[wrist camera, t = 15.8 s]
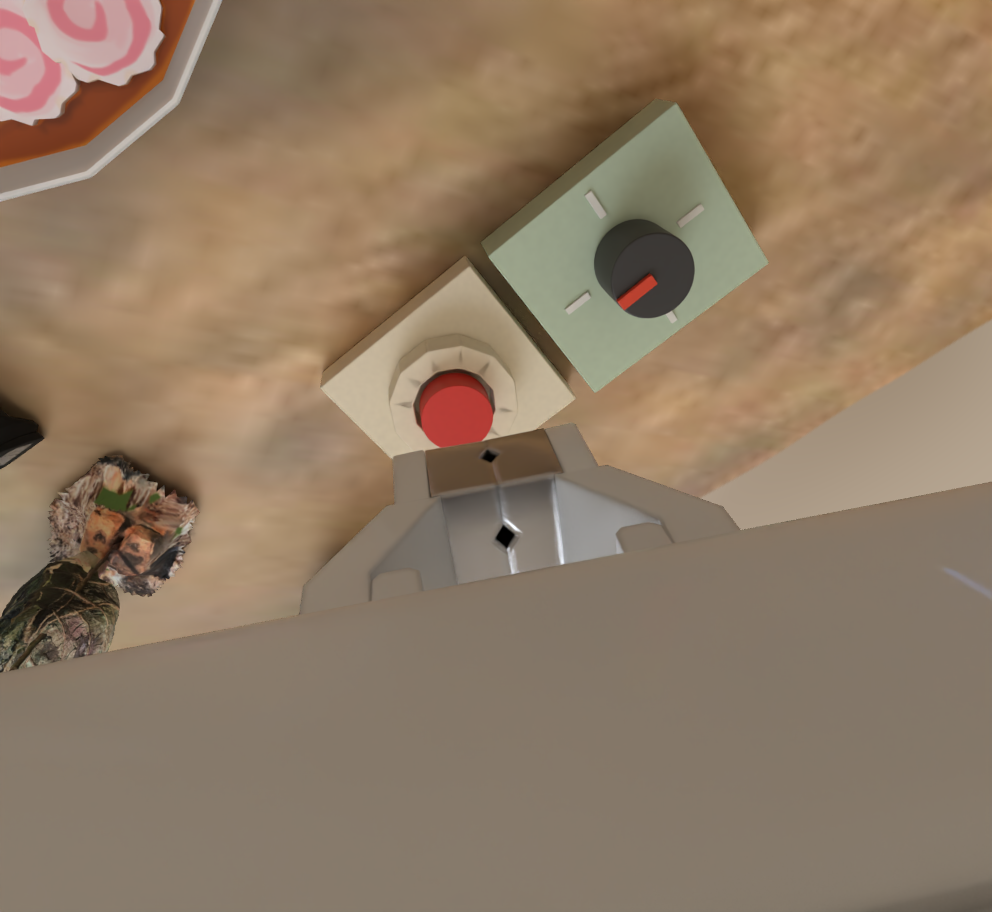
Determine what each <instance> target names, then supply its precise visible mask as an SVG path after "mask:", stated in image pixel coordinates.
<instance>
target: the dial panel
mask: <svg viewBox="0 0 992 912" xmlns="http://www.w3.org/2000/svg"><path fill="white" fill-rule="evenodd" d="M632 219H644V220H648V221H651V222H653V223H655V224H657V225H659V226H660V227H662V228H663V229H665V230H667V231H668V232H670V233H671V234H673V235H675V236H676V237H678V238H679V239H681V240H682V241H683V242H684V243H685V244H686V245H687V247H688V248H689V250H690V251H691V253H692V256H693V259H694V265H695V275H694V280H693V284H692V287H691V289H690V291H689V293H688V295H687V296H686V298H685V299H684V300H683V301H682V303H681V304H680V305H679V306H677V307H676V308H675V309H674V310H672V311H671V312H669V313H667V314H665V315H663V316H660V317H656V318H638V317H635V316H632V315H630V314H628V313H627V312H625V311H624V310H623V309H622V308H621V307H620V306H619V305H618V304H617V303H616V302H615V301H614V300H613V299H612V298H611V297H610V296H609V295H608V294H607V293H606V292H605V290H604V289H603V288H602V287H601V286H600V284H599V283H598V280H597V278H596V275H595V270H594V258H595V254H596V250H597V247H598V245H599V243H600V242H601V240H602V238H603V237H604V236H605V235H606V233H607V232H609V231H610V230H611V229H612V228H613V227H615V226H616V225H618V224H620V223H622V222H624V221H628V220H632ZM481 245H482V246H483V248H484V250H485V252H486V254H487V256H488V257H489V259H490V260H491V261H492V262H493V264H494V265H495V266H496V268H497V269H498V270H499V271H500V273H501V274H502V275H503V276H504V278H505V279H506V280H507V282H508V283H509V284H510V285H511V287H512V288H513V289H514V291H515V292H516V293H517V294H518V296H519V297H520V298H521V299H522V301H523V302H524V303H525V305H526V306H527V307H528V308H529V310H530V311H531V312H532V313H533V315H534V316H535V317H536V319H537V320H538V321H539V322H540V324H541V325H542V326H543V328H544V329H545V330H546V331H547V333H548V334H549V335H550V336H551V338H552V339H553V340H554V342H555V343H556V344H557V345H558V347H559V348H560V349H561V351H562V352H563V353H564V354H565V356H566V357H567V358H568V359H569V361H570V362H571V363H572V365H573V366H574V367H575V368H576V370H577V371H578V372H579V373H580V375H581V376H582V377H583V379H584V380H585V381H586V382H587V384H588V385H589V386H590V388H591V389H592V390H593V391H594V392H595V393H596V392H597V391H598V390H600V389H601V388H602V387H604V386H605V385H606V384H608V383H609V382H610V381H612V380H613V379H614V378H616V377H617V376H618V375H620V374H621V373H622V372H624V371H625V370H626V369H628V368H629V367H630V366H632V365H633V364H634V363H636V362H637V361H639V360H640V359H641V358H643V357H644V356H645V355H647V354H648V353H649V352H651V351H652V350H653V349H655V348H656V347H657V346H659V345H660V344H661V343H663V342H664V341H665V340H667V339H668V338H669V337H671V336H672V335H673V334H675V333H676V332H677V331H679V330H680V329H681V328H683V327H684V326H685V325H687V324H688V323H689V322H691V321H692V320H693V319H695V318H696V317H697V316H699V315H700V314H701V313H703V312H704V311H705V310H707V309H708V308H709V307H711V306H712V305H713V304H715V303H716V302H717V301H719V300H720V299H721V298H723V297H724V296H725V295H727V294H728V293H729V292H731V291H732V290H733V289H735V288H736V287H737V286H739V285H740V284H742V283H743V282H744V281H746V280H747V279H748V278H750V277H751V276H752V275H754V274H755V273H756V272H758V271H759V270H760V269H762V268H763V267H764V266H766V265H767V264H768V263H769V262H768V260H767V258H766V257H765V255H764V253H763V251H762V250H761V248H760V246H759V244H758V243H757V241H756V239H755V238H754V236H753V234H752V232H751V231H750V229H749V227H748V225H747V224H746V222H745V220H744V218H743V217H742V215H741V213H740V211H739V210H738V208H737V206H736V205H735V203H734V201H733V199H732V198H731V196H730V194H729V192H728V191H727V189H726V187H725V185H724V184H723V182H722V180H721V178H720V177H719V175H718V173H717V172H716V170H715V168H714V166H713V165H712V163H711V161H710V159H709V158H708V156H707V154H706V152H705V151H704V149H703V147H702V145H701V144H700V142H699V140H698V139H697V137H696V135H695V133H694V132H693V130H692V128H691V126H690V125H689V123H688V121H687V119H686V118H685V116H684V114H683V112H682V111H681V109H680V107H679V106H678V104H677V103H676V102H671V101H665V100H660V99H655V100H653V101H652V102H651V103H650V104H648V105H647V106H646V107H645V108H644V109H642V110H641V111H640V112H639V113H637V114H636V115H635V116H634V117H633V118H631V119H630V120H629V121H628V122H627V123H625V124H624V125H623V126H622V127H620V128H619V129H618V130H617V131H616V132H614V133H613V134H612V135H611V136H609V137H608V138H607V139H606V140H605V141H603V142H602V143H601V144H600V145H599V146H597V147H596V148H595V149H594V150H592V151H591V152H590V153H589V154H588V155H586V156H585V157H584V158H583V159H581V160H580V161H579V162H578V163H577V164H575V165H574V166H573V167H572V168H571V169H569V170H568V171H567V172H566V173H564V174H563V175H562V176H561V177H560V178H558V179H557V180H556V181H555V182H553V183H552V184H551V185H550V186H549V187H547V188H546V189H545V190H544V191H543V192H541V193H540V194H539V195H538V196H536V197H535V198H534V199H533V200H532V201H530V202H529V203H528V204H527V205H525V206H524V207H523V208H522V209H521V210H519V211H518V212H517V213H516V214H515V215H513V216H512V217H511V218H510V219H508V220H507V221H506V222H505V223H504V224H502V225H501V226H500V227H499V228H497V229H496V230H495V231H494V232H493V233H491V234H490V235H489V236H488V237H487V238H485V239H484V240H483V241H482V242H481Z"/></svg>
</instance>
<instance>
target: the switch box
mask: <svg viewBox="0 0 992 912" xmlns="http://www.w3.org/2000/svg"><path fill="white" fill-rule="evenodd" d="M447 373H463V374H467V375H470V376H472V377H474V378H475V379H477V380H478V381H479V382H480V383H481V384H482V385H483V387H484V388H485V390H486V392H487V395H488V398H489V401H490V404H491V407H492V411H493V422H492V426H491V429H490V431H489V433H488V434H487V436H486V437H485V438H484V439H483V440H482V441H485V440H489V439H494V438H498V437H503V436H508V435H513V434H518V433H523V432H528V431H533V430H535V429H536V428H537V427H539V426H540V425H541V424H543V423H544V422H545V421H547V420H548V419H549V418H551V417H552V416H553V415H555V414H556V413H557V412H559V411H560V410H561V409H563V408H564V407H565V406H567V405H568V404H569V403H571V402H572V401H573V400H575V399H576V397H575V395H574V394H573V392H572V390H571V388H570V387H569V385H568V383H567V382H566V381H565V379H564V378H563V377H562V376H561V374H560V373H559V372H558V371H557V369H556V368H555V367H554V366H553V364H552V363H551V362H550V361H549V359H548V358H547V357H546V356H545V354H544V353H543V352H542V351H541V349H540V348H539V347H538V346H537V344H536V343H535V342H534V341H533V339H532V338H531V337H530V336H529V334H528V333H527V332H526V331H525V329H524V328H523V327H522V326H521V324H520V323H519V322H518V321H517V319H516V318H515V317H514V316H513V314H512V313H511V312H510V311H509V309H508V308H507V307H506V306H505V304H504V303H503V302H502V301H501V299H500V298H499V297H498V296H497V294H496V293H495V292H494V291H493V289H492V288H491V287H490V286H489V284H488V283H487V282H486V281H485V279H484V278H483V277H482V276H481V274H480V273H479V272H478V271H477V269H476V268H475V267H474V266H473V264H472V263H471V262H470V261H469V259H468V258H467V257H466V256H464V257H462V258H461V259H460V260H459V261H457V262H456V263H455V264H454V265H453V266H451V267H450V268H449V269H448V270H446V271H445V272H444V273H443V274H442V275H440V276H439V277H438V278H437V279H436V280H434V281H433V282H432V283H431V284H429V285H428V286H427V287H426V288H425V289H423V290H422V291H421V292H420V293H418V294H417V295H416V296H415V297H414V298H412V299H411V300H410V301H409V302H408V303H406V304H405V305H404V306H403V307H401V308H400V309H399V310H398V311H397V312H395V313H394V314H393V315H392V316H390V317H389V318H388V319H387V320H386V321H384V322H383V323H382V324H381V325H380V326H378V327H377V328H376V329H375V330H373V331H372V332H371V333H370V334H369V335H367V336H366V337H365V338H364V339H362V340H361V341H360V342H359V343H358V344H356V345H355V346H354V347H353V348H352V349H350V350H349V351H348V352H347V353H345V354H344V355H343V356H342V357H341V358H339V359H338V360H337V361H336V362H334V363H333V364H332V365H331V366H330V367H328V368H327V369H326V370H325V371H324V372H323V373H322V378H321V385H320V389H321V390H322V391H323V392H324V393H325V394H326V395H327V396H328V397H329V398H330V399H331V400H332V401H333V402H334V403H335V404H336V405H337V406H338V407H339V408H340V409H341V410H342V411H343V412H344V413H346V414H347V415H348V416H349V417H350V418H351V419H352V420H353V421H354V422H355V423H356V424H357V425H358V426H359V427H360V428H361V429H362V430H363V431H364V432H365V433H366V434H367V435H368V436H369V437H370V438H371V439H372V440H373V441H374V442H375V443H376V444H377V445H378V446H379V447H380V448H381V449H382V450H383V451H384V452H385V453H386V454H387V455H388V456H389V457H390V458H391V459H392V458H393V457H394V456H396V455H400V454H405V453H410V452H414V451H419V450H423V451H424V452H425V450H429V449H435V448H440V447H438V446H436V445H435V444H434V443H432V442H431V441H430V440H429V439H428V438H427V436H426V435H425V433H424V431H423V428H422V424H421V416H420V408H419V403H420V398H421V395H422V392H423V390H424V389H425V387H426V386H427V385H428V384H429V383H430V382H431V381H432V380H434V379H435V378H437V377H439V376H441V375H444V374H447Z"/></svg>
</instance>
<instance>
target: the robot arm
mask: <svg viewBox="0 0 992 912" xmlns="http://www.w3.org/2000/svg"><path fill="white" fill-rule="evenodd" d="M392 461H393V483H394V505H388V506H386V507H385V508H384V509H383V510H382V511H381V512H380V513H379V514H377V515H376V516H375V517H374V518H373V519H372V520H371V521H370V522H369V523H368V524H367V525H366V526H365V527H364V528H363V529H362V530H361V531H360V532H359V533H358V534H357V535H356V536H355V537H354V538H352V539H351V540H350V541H349V542H348V543H347V544H346V545H345V546H344V547H343V548H342V549H341V550H340V551H339V552H338V553H337V554H336V555H335V556H334V557H333V558H332V559H331V560H330V561H329V562H327V563H326V564H325V565H324V566H323V567H322V568H321V569H320V570H319V571H318V572H317V573H316V574H315V575H314V576H313V577H312V578H311V579H310V580H309V581H308V582H307V583H306V584H305V585H304V586H303V591H302V598H301V605H300V613H299V615H297V616H291V617H286V618H281V619H276V620H270V621H265V622H260V623H255V624H250V625H244V626H239V627H234V628H229V629H224V630H218V631H213V632H208V633H203V634H198V635H193V636H187V637H182V638H177V639H172V640H167V641H161V642H156V643H151V644H146V645H141V646H136V647H130V648H125V649H120V650H115V651H110V652H105V653H99V654H94V655H89V656H84V657H79V658H74V659H68V660H63V661H58V662H53V663H48V664H42V665H37V666H32V667H27V668H22V669H17V670H11V671H6V672H1V673H0V912H992V482H988V483H983V484H978V485H973V486H967V487H962V488H957V489H952V490H947V491H942V492H936V493H931V494H926V495H921V496H916V497H910V498H905V499H900V500H895V501H890V502H885V503H880V504H874V505H869V506H864V507H859V508H853V509H848V510H843V511H838V512H833V513H827V514H822V515H817V516H812V517H807V518H802V519H796V520H791V521H786V522H781V523H775V524H770V525H765V526H760V527H755V528H750V529H744V530H740V529H739V527H738V526H737V525H736V523H735V522H734V521H733V519H732V518H731V517H730V515H729V514H728V513H727V512H726V510H725V509H724V507H722V506H719V505H717V504H714V503H711V502H709V501H706V500H703V499H700V498H698V497H695V496H692V495H689V494H686V493H684V492H681V491H678V490H675V489H672V488H670V487H667V486H664V485H661V484H659V483H656V482H653V481H650V480H647V479H645V478H642V477H639V476H636V475H634V474H631V473H628V472H625V471H622V470H620V469H617V468H614V467H611V466H608V465H604V466H598V464H597V462H596V460H595V459H594V457H593V455H592V453H591V451H590V449H589V448H588V446H587V444H586V442H585V440H584V439H583V437H582V435H581V433H580V431H579V430H578V428H577V426H576V424H574V423H568V424H564V425H560V426H555V427H551V428H547V429H544V428H542V429H537V430H533V431H528V432H523V433H518V434H513V435H508V436H503V437H498V438H494V439H489V440H485V441H478V442H472V443H466V444H460V445H454V446H448V447H442V448H435V449H429V450H425V452H424V451H423V450H419V451H414V452H410V453H405V454H400V455H396V456H394V457H393V458H392Z"/></svg>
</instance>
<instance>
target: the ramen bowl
mask: <svg viewBox="0 0 992 912" xmlns="http://www.w3.org/2000/svg"><path fill="white" fill-rule="evenodd" d="M221 2H222V0H0V201H4V200H8V199H12V198H16V197H19V196H23V195H27V194H31V193H35V192H38V191H42V190H46V189H50V188H54V187H58V186H61V185H65V184H69V183H73V182H77V181H81V180H84V179H88V178H91V177H93V176H94V175H95V174H96V173H97V172H99V171H100V170H101V169H102V168H103V167H104V166H106V165H107V164H108V163H109V162H110V161H112V160H113V159H114V158H115V157H116V156H118V155H119V154H120V153H121V152H122V151H124V150H125V149H126V148H127V147H128V146H130V145H131V144H132V143H133V142H134V141H135V140H137V139H138V138H139V137H140V136H141V135H143V134H144V133H145V132H146V131H147V130H149V129H150V128H151V127H152V126H153V125H155V124H156V123H157V122H158V121H159V120H161V119H162V118H163V117H164V116H165V115H167V114H168V113H169V112H170V111H171V110H172V109H174V108H175V107H176V106H177V105H178V104H179V103H180V100H181V98H182V96H183V93H184V91H185V88H186V86H187V84H188V81H189V79H190V76H191V74H192V72H193V69H194V67H195V64H196V62H197V60H198V57H199V55H200V53H201V50H202V48H203V45H204V43H205V41H206V38H207V36H208V33H209V31H210V29H211V26H212V24H213V21H214V19H215V17H216V14H217V12H218V10H219V7H220V5H221Z"/></svg>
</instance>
